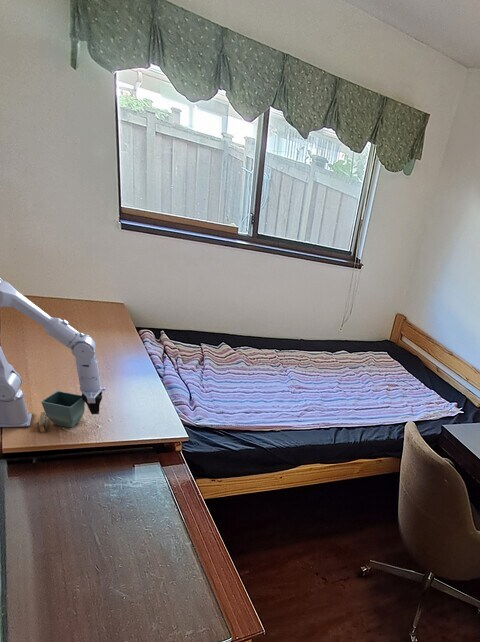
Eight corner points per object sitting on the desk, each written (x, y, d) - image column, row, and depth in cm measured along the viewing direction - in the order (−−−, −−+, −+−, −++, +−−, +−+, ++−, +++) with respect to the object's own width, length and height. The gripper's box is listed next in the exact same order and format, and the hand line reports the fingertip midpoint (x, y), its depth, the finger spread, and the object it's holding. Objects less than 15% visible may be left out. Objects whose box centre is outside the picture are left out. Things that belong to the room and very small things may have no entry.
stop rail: (40, 432, 142) (38, 424, 140) (42, 419, 147) (40, 412, 146) (46, 432, 143) (44, 424, 141) (48, 419, 148) (46, 412, 147)
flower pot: (89, 419, 153) (85, 395, 148) (75, 432, 146) (70, 407, 141) (61, 414, 152) (56, 390, 147) (45, 426, 145) (40, 401, 140)
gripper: (103, 384, 140) (109, 422, 148) (103, 365, 150) (108, 402, 158) (76, 384, 137) (83, 423, 145) (78, 365, 147) (84, 402, 154)
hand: (95, 412), depth 151 cm, fingers closed
